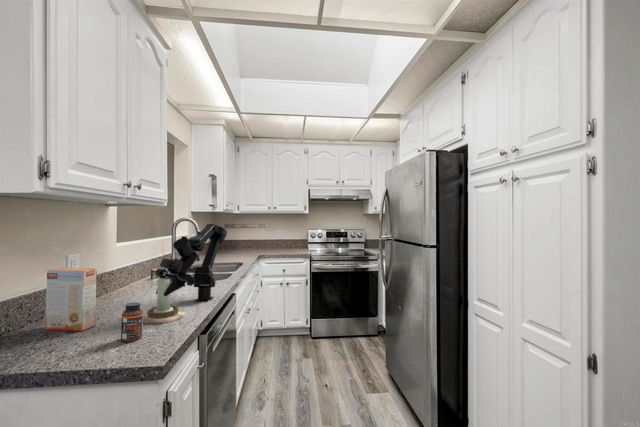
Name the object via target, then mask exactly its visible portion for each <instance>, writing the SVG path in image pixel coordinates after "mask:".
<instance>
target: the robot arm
mask: <svg viewBox="0 0 640 427" xmlns="http://www.w3.org/2000/svg"><path fill="white" fill-rule="evenodd" d="M227 233H228V232H227V229H226V228H224V227H222V226H220V225H218V224H216V223H207V224H206V225H205V227H204V228H202V230H201V231H200V232H199V233H198V234H197V235H194V236H190V237H189V238H188V236H181V238H178V239H176V241H174V242H173V245H172V246H173V248H174V250H175V252H176V253H177V254H178V256H180V258H175V257H174V258H173V259H169V258H162V260H161V262H160V264H159V267H163V268H157V269H156V270H155V271H154V275H156V276H157V277H158V279H160V278H171V284H170V285H169V287H168V288H167V290H166V291H165V293H164V296H167V295H169V294H170V295H171V294H172V293H174V292H175V291H178V290H180V289H182V288H183V287H184V288H185V287H186V285H187V286H189V287H194V288H197V289H198V290H197V298H195V299H194V301H197V302H209V301H211V300H212V298H213V299H214V296H212V288H216V282H217V281H216V280H215V277H214V272H213V265H214V263H215V260H216V256H217V253H218V250H219V246H220V245H221V244H222V243H223V242H224V241H225V240H226V237H227ZM208 240H209V244H208V247H207V250H206V252H205V255H204V258H203V260H202V264H201V265H200V266H196V268H195V272H194V273H193V276H192V275H191V273H189V272H191V271H193V270H192V268H191V267H192V266H193V265H194V264H195V262H200V260H201V258H200V254H197V252H199V253H201V252H203V251H204V249H205V248H206V242H207V241H208ZM165 268H166V269H165ZM155 294H156V295H157V290H156V291H155ZM210 299H211V300H210ZM208 300H209V301H208Z"/></svg>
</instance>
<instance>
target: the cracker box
mask: <svg viewBox="0 0 640 427" xmlns="http://www.w3.org/2000/svg"><path fill="white" fill-rule="evenodd" d="M97 273H98V272H97V268H96V267H95V268H91V267H90V268H89V267H58V268H53V269H51V268H50V269H47V270H46V296H45V297H46V298H45V324H44V328H45V329H44V330H46V331H48V330H49V331H68V332H70V331H71V332H82V331H83V332H84V331H85V330H88V329H90V328H93V327H96V313H97V312H96V311H97V310H96V309H97V308H96V305H97Z"/></svg>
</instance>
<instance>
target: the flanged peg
mask: <svg viewBox="0 0 640 427" xmlns="http://www.w3.org/2000/svg"><path fill="white" fill-rule="evenodd" d="M171 282H172V279H171V278H157V289H156V291H157V294H156V297H157V298H156V307H157V309H154V310H153V313H163V312H169V311H173V307H170V305H171V294H169V295H167V296H164V293H165V291H166V290H167V288H168V287H169V285H170V284H171Z"/></svg>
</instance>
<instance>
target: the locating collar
mask: <svg viewBox="0 0 640 427" xmlns="http://www.w3.org/2000/svg"><path fill="white" fill-rule="evenodd" d="M170 307H173V311H169V312H163V313H153V310H154V309H157V306H154V307H151V308H149V309H148V310H147V312H145V313H144V312H143V324H147V325H159V324H161V325H162V324H167V323H172V322H175V321H176V322H177V321H178V320H180V319H183V318H184V317H185V316H186V310H185V309H182V308H179V306H178V305H174V304H173V305H171V304H170Z"/></svg>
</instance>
